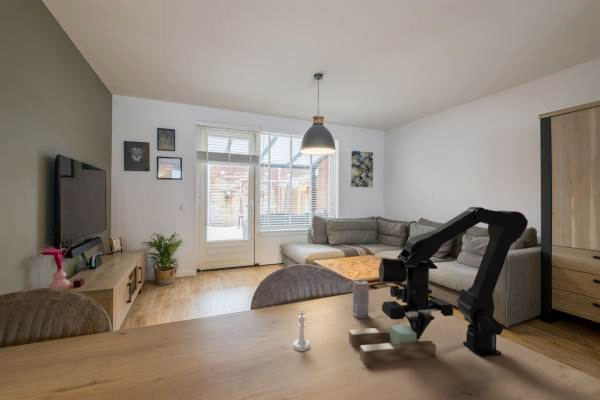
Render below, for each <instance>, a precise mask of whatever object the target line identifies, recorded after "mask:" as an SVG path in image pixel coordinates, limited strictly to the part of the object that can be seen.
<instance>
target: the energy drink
mask: <svg viewBox="0 0 600 400" xmlns="http://www.w3.org/2000/svg"><path fill="white" fill-rule="evenodd" d="M369 287H370V284H369V282H368V280H365V279H354V280H353V283H352V315H353V317H355V318H356V319H361V320H363V319H367V318H369V297H370V294H369V291H370V288H369Z"/></svg>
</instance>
